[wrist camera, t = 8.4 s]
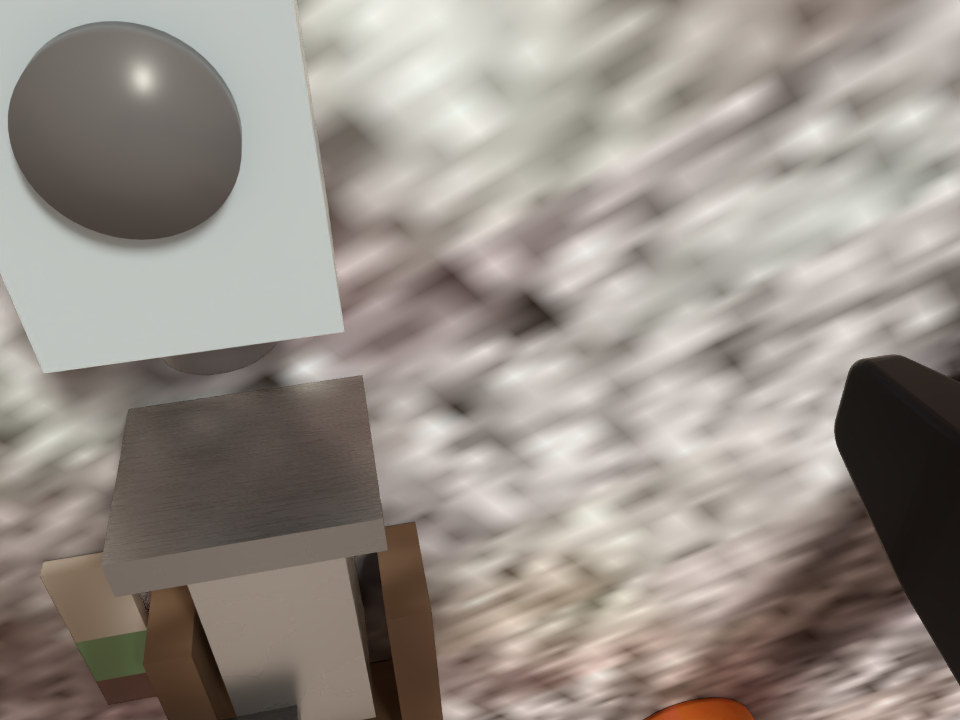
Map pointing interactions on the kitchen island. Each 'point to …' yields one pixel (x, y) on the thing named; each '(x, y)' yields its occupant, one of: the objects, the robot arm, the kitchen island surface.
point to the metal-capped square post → (259, 538)
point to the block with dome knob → (161, 182)
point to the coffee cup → (704, 710)
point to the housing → (189, 658)
